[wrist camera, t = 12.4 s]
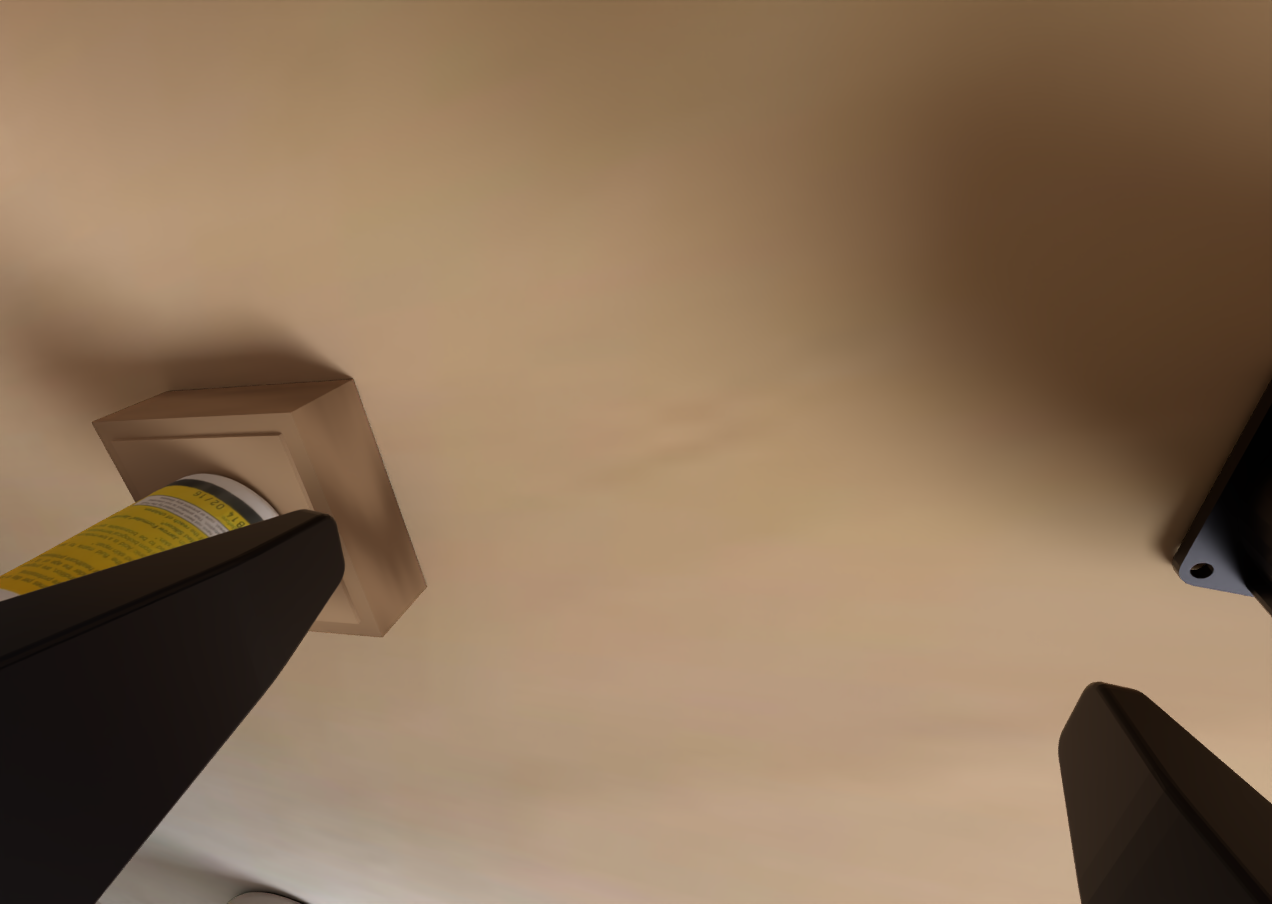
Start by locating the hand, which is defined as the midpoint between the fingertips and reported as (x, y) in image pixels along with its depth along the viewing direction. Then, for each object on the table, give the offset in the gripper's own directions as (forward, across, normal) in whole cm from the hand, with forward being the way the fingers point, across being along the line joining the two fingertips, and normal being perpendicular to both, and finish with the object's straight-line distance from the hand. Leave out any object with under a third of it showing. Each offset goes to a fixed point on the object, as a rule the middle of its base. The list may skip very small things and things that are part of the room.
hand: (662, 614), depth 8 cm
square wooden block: (+12, +17, +9) cm, 23 cm away
